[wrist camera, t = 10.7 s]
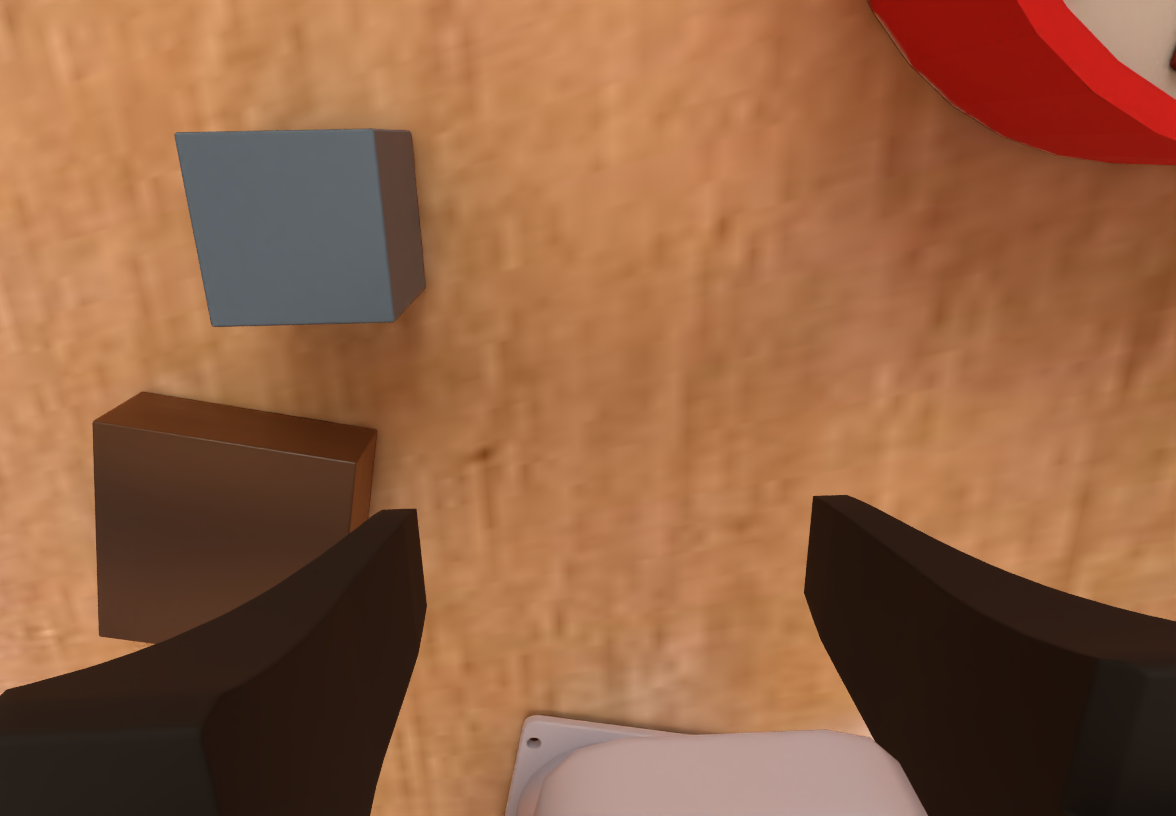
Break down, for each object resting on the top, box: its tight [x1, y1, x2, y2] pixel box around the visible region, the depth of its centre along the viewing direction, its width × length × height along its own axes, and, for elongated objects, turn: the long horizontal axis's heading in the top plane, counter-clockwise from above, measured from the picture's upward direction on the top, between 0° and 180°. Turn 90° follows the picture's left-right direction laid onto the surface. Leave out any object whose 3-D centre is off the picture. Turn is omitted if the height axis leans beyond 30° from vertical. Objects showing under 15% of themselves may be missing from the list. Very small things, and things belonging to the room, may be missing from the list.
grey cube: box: [175, 129, 425, 327], centre depth 19 cm, size 4×4×4 cm
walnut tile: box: [93, 392, 377, 644], centre depth 23 cm, size 7×7×3 cm
